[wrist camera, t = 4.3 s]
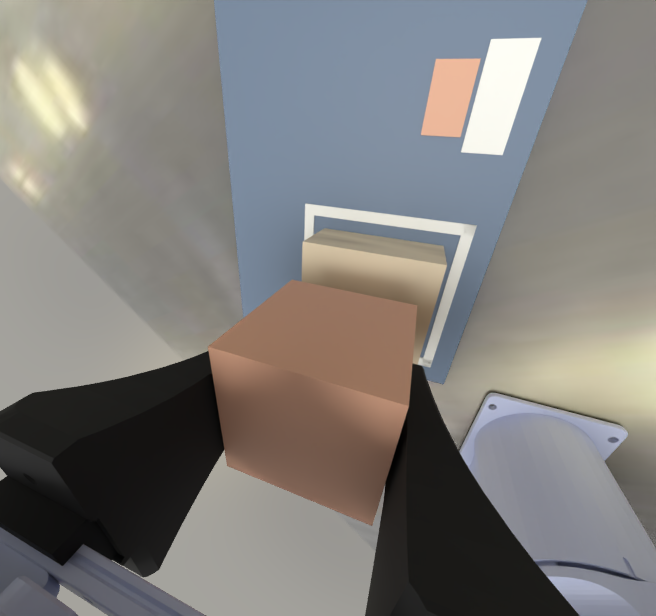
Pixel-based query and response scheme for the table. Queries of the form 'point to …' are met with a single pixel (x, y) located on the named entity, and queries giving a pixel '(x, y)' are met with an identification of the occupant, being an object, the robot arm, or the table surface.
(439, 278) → the beech block
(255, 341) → the terracotta cube
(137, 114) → the table surface
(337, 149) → the board
